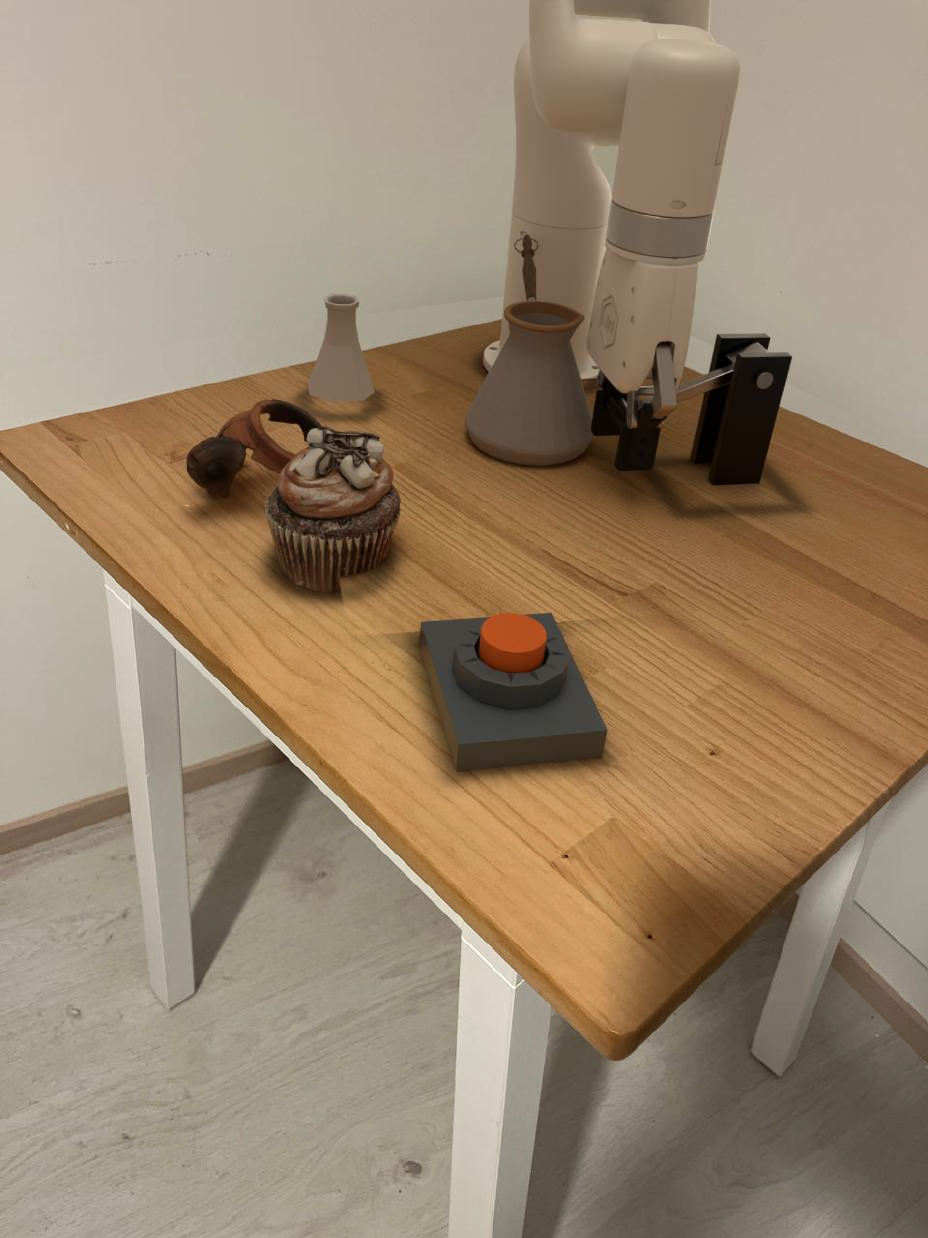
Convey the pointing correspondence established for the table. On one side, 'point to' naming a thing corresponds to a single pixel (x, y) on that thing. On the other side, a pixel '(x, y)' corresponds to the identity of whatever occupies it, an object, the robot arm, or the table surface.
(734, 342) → the bracket
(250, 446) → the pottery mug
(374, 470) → the cupcake
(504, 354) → the coffee pot
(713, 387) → the lever
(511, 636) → the button
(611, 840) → the table surface
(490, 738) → the button box
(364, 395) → the flask
